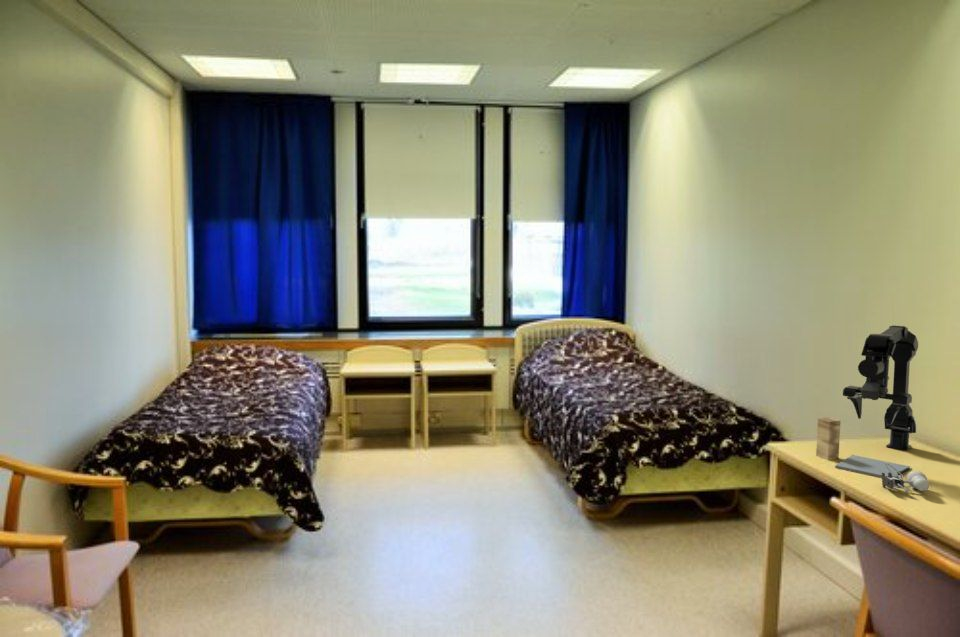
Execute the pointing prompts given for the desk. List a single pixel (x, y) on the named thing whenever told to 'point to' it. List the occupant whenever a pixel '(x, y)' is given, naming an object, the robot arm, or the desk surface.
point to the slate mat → (870, 466)
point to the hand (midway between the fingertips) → (874, 421)
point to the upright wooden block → (828, 438)
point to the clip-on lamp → (913, 479)
